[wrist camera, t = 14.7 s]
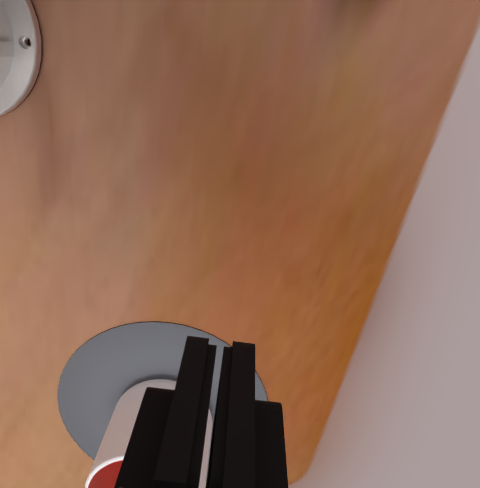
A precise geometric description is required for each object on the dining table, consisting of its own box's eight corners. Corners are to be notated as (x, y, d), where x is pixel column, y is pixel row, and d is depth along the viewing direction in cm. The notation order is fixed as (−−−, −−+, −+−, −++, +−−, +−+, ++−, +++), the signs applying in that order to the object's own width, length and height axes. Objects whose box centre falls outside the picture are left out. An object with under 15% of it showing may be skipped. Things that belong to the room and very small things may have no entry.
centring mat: (62, 472, 51) (61, 473, 51) (53, 308, 42) (52, 309, 42) (253, 494, 52) (253, 496, 51) (284, 336, 43) (284, 337, 43)
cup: (131, 360, 44) (98, 441, 35) (226, 389, 45) (219, 476, 36) (108, 431, 48) (73, 521, 39) (196, 456, 49) (183, 550, 40)
